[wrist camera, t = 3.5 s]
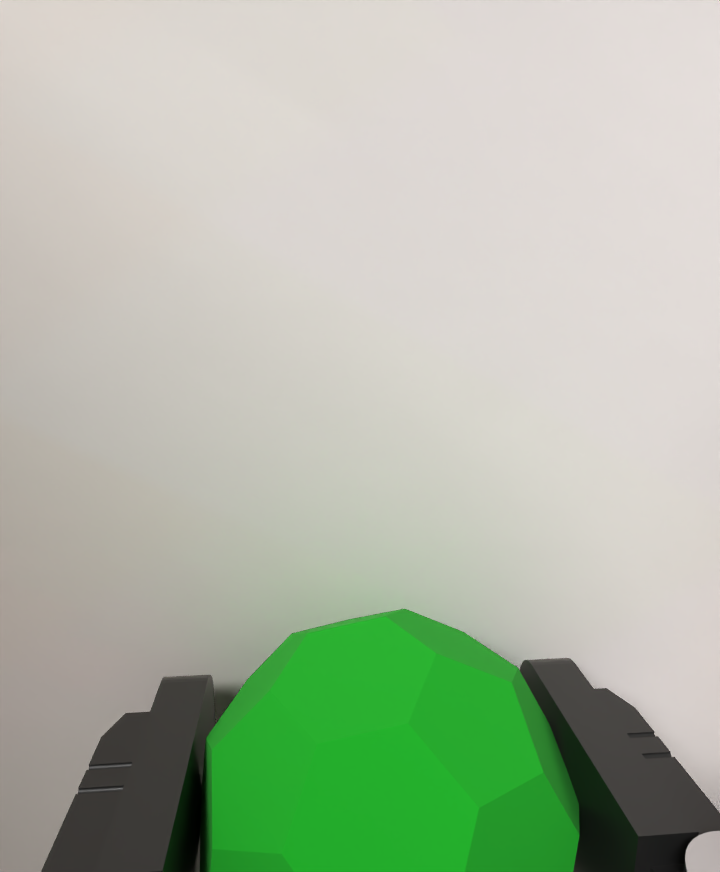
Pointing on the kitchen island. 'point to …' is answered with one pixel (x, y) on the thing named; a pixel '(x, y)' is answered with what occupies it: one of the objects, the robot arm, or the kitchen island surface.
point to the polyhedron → (385, 759)
